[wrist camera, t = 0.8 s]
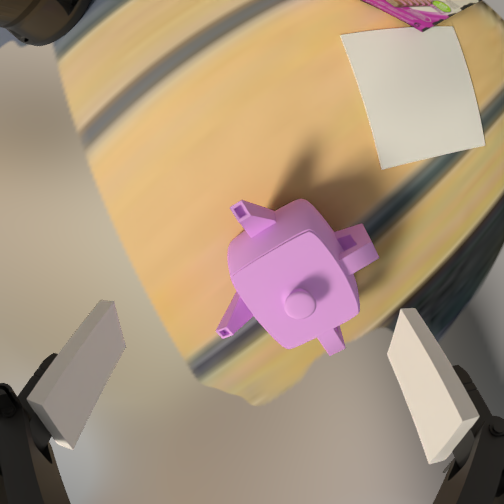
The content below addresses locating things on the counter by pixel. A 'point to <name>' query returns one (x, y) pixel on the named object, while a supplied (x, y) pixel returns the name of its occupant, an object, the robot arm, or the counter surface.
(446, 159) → the counter surface
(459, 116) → the mat
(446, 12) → the candy bar box
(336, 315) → the teakettle
